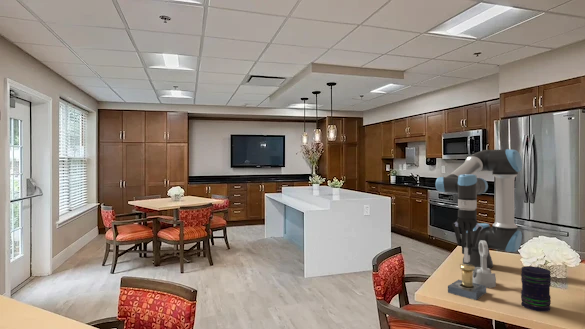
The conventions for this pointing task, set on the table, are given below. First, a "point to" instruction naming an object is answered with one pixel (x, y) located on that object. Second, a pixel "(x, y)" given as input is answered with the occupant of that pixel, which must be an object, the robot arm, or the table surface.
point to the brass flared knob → (467, 275)
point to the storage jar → (535, 288)
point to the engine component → (484, 268)
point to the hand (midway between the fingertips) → (466, 261)
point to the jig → (467, 290)
